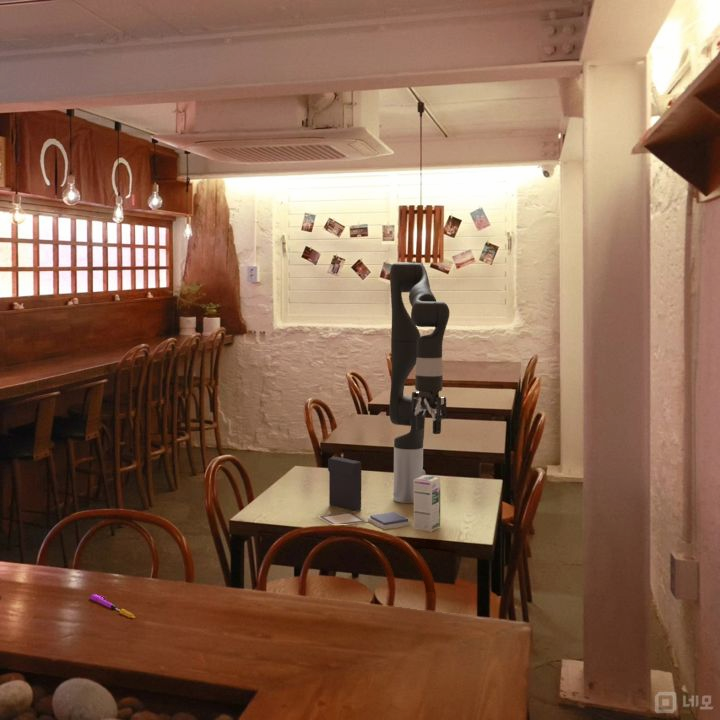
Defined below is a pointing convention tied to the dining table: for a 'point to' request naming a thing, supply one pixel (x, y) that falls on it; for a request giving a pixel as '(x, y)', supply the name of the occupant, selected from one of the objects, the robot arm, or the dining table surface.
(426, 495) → the syrup box
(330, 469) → the dark grey upright block
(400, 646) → the dining table surface
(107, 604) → the purple and yellow stick
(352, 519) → the marked card
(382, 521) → the ink pad
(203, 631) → the dining table surface
